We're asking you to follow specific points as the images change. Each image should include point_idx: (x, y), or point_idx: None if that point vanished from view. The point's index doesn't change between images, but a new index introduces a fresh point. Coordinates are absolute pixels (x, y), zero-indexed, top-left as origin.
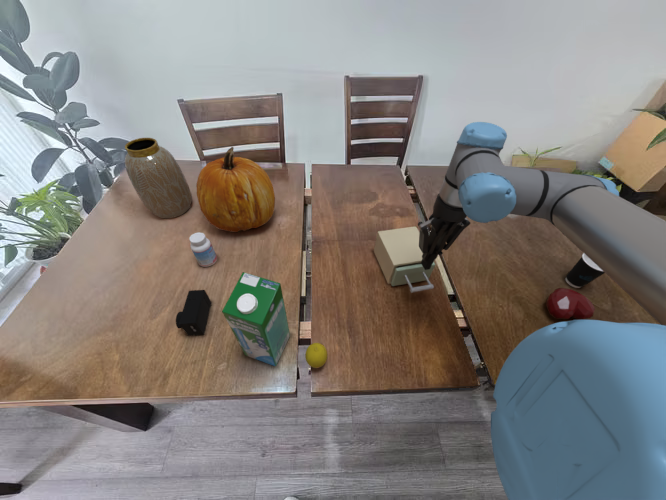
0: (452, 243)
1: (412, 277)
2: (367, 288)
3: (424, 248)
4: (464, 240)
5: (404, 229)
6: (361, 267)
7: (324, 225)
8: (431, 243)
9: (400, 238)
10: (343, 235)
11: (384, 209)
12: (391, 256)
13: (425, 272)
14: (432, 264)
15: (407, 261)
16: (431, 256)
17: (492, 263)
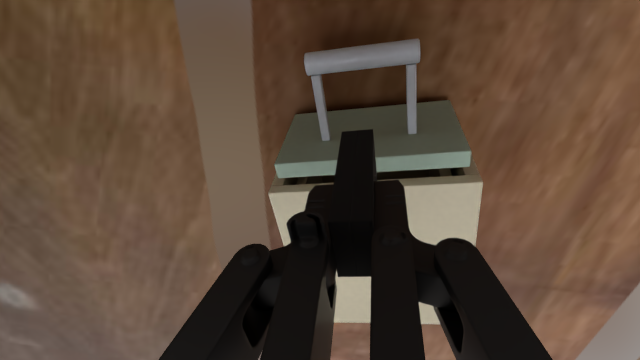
0: (199, 305)
1: (369, 124)
2: (548, 101)
3: (493, 298)
4: (141, 240)
5: (354, 317)
6: (522, 189)
7: (564, 335)
8: (421, 346)
9: None
10: (521, 300)
11: (354, 350)
12: (469, 223)
13: (315, 138)
14: (287, 167)
15: (405, 192)
16: (369, 206)
17: (60, 157)
